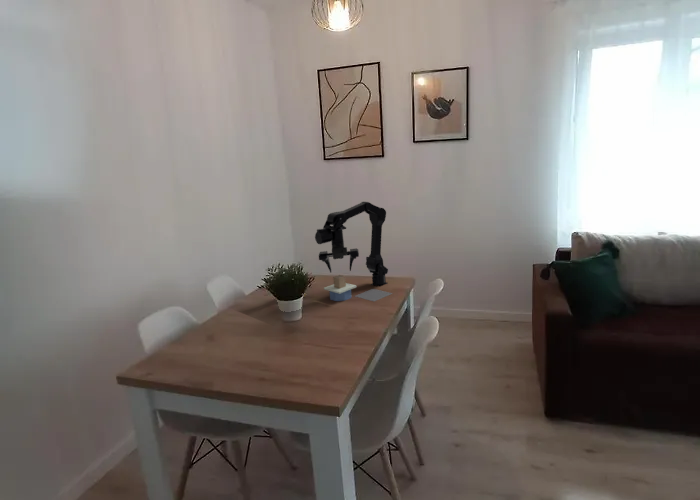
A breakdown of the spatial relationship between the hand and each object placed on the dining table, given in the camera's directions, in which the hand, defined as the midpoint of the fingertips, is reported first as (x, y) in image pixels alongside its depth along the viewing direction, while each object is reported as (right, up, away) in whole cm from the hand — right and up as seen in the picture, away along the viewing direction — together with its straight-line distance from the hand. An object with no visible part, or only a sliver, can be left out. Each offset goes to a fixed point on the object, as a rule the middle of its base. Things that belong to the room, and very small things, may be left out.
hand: (340, 271), depth 218 cm
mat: (+16, -11, 0) cm, 19 cm away
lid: (0, -8, -1) cm, 8 cm away
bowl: (0, -13, 0) cm, 13 cm away
